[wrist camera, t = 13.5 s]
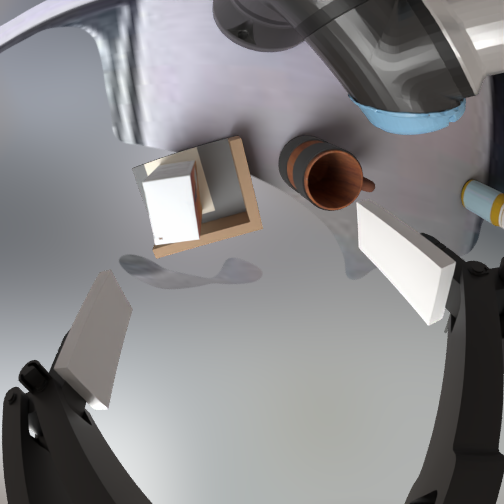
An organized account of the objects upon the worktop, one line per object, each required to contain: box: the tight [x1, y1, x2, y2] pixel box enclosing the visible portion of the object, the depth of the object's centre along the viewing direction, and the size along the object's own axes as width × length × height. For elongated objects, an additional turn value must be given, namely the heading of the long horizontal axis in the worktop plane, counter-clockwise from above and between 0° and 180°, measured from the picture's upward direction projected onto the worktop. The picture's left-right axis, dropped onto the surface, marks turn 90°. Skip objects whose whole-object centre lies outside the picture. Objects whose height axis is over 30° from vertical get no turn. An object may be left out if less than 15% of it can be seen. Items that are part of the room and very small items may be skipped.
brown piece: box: [132, 135, 263, 258], centre depth 38 cm, size 13×16×5 cm
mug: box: [279, 136, 375, 211], centre depth 36 cm, size 9×12×12 cm
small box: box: [142, 160, 202, 245], centre depth 35 cm, size 8×6×10 cm
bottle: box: [461, 180, 504, 229], centre depth 41 cm, size 7×7×15 cm
